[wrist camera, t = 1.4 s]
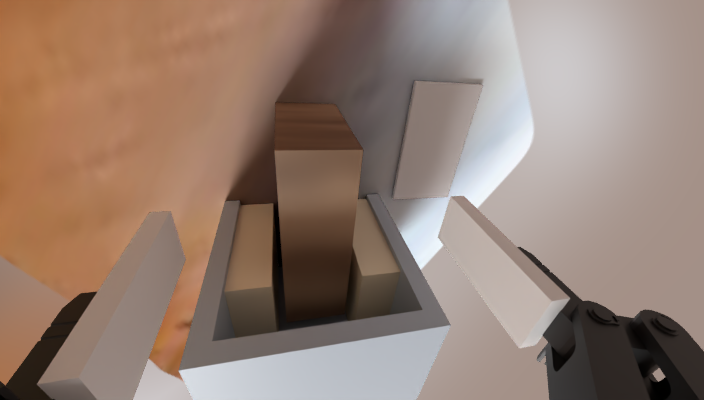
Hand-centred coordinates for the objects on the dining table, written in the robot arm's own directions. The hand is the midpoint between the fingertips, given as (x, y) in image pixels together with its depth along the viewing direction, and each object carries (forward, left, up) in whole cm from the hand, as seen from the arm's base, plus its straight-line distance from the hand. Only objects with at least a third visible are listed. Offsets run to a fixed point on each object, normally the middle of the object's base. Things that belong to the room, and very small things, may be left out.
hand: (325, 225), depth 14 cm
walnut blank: (+4, 0, -12) cm, 12 cm away
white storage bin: (+11, 0, -11) cm, 16 cm away
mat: (+1, +12, -11) cm, 16 cm away
